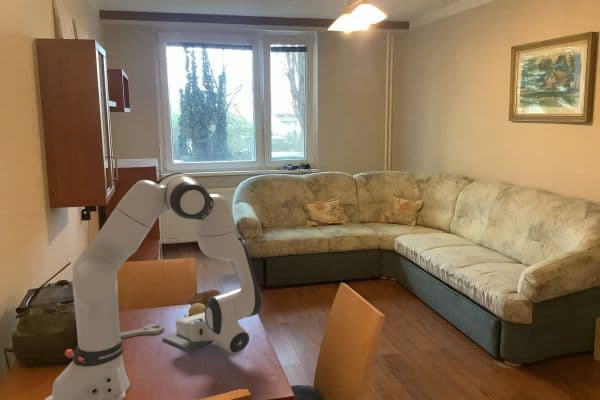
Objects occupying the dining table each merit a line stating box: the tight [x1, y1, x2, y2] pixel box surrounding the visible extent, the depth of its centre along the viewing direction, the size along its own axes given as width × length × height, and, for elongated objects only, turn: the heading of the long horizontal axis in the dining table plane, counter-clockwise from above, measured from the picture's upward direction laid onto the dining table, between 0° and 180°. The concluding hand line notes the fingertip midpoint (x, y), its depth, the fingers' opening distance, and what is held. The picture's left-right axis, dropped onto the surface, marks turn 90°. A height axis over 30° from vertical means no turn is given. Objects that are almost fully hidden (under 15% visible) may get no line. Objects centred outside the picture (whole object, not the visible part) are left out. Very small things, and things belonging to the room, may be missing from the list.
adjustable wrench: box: [120, 323, 165, 339], centre depth 181 cm, size 25×6×2 cm, turn 111°
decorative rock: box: [188, 289, 222, 307], centre depth 197 cm, size 13×11×10 cm
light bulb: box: [187, 303, 206, 316], centre depth 179 cm, size 6×6×10 cm
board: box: [162, 330, 212, 352], centre depth 180 cm, size 20×14×2 cm
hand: (196, 313), depth 180 cm, fingers closed on light bulb, 6 cm apart
